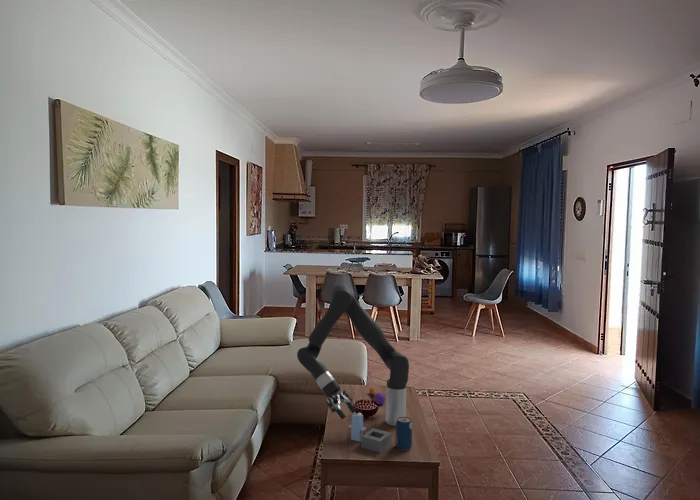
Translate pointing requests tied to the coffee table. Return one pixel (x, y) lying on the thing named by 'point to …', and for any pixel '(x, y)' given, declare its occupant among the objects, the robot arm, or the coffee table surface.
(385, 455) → the coffee table surface
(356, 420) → the block
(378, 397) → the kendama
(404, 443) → the soda can
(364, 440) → the grey block with hole
